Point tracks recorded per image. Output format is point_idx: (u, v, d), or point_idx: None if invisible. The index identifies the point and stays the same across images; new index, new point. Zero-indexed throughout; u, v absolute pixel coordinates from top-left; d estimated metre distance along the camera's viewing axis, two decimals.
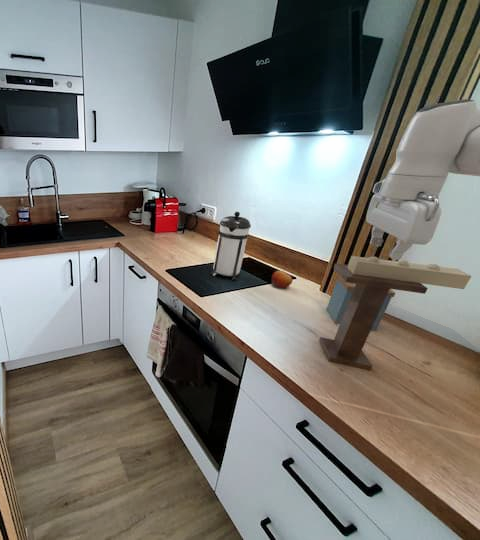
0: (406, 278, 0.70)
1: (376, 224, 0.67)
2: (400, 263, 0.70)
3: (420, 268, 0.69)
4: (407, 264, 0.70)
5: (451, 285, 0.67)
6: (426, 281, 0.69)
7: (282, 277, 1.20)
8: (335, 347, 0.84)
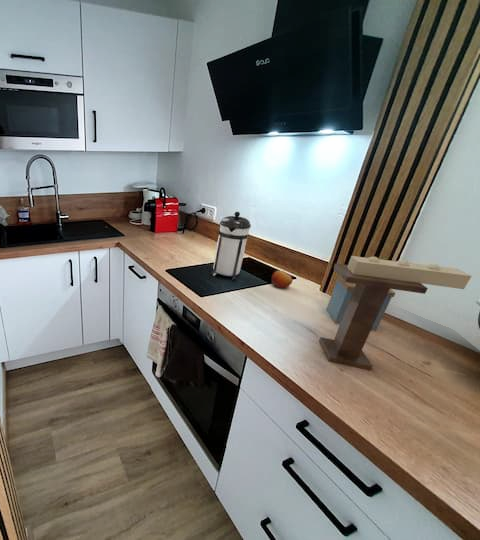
0: (406, 278, 0.70)
1: None
2: (400, 263, 0.70)
3: (420, 268, 0.69)
4: (407, 264, 0.70)
5: (451, 285, 0.67)
6: (426, 281, 0.69)
7: (282, 277, 1.20)
8: (335, 347, 0.84)
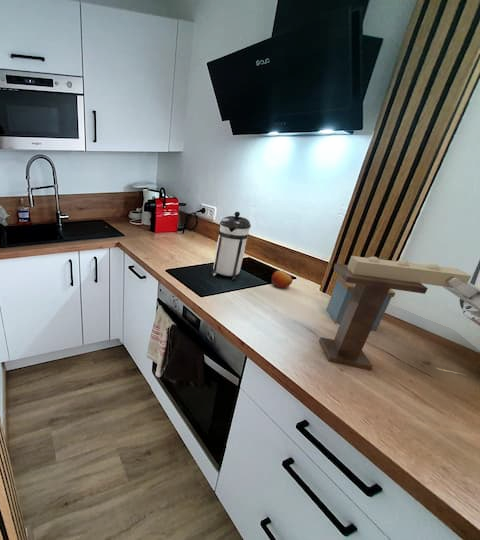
0: (406, 278, 0.70)
1: (463, 299, 0.66)
2: (400, 263, 0.70)
3: (420, 268, 0.69)
4: (407, 264, 0.70)
5: None
6: (426, 281, 0.69)
7: (282, 277, 1.20)
8: (335, 347, 0.84)
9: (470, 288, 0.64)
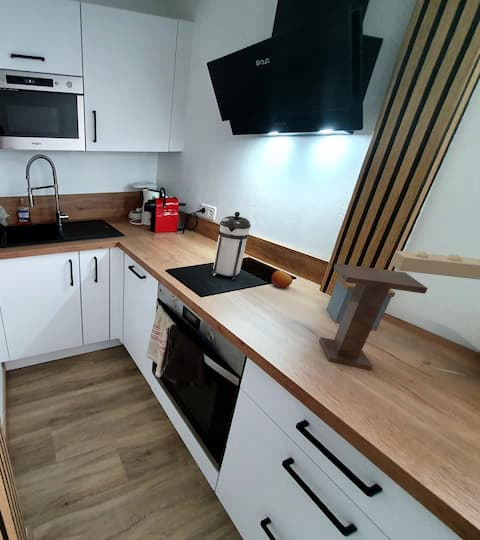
0: (458, 274, 0.66)
1: None
2: (451, 258, 0.66)
3: (474, 263, 0.64)
4: (459, 259, 0.65)
5: None
6: None
7: (282, 277, 1.20)
8: (335, 347, 0.84)
9: None
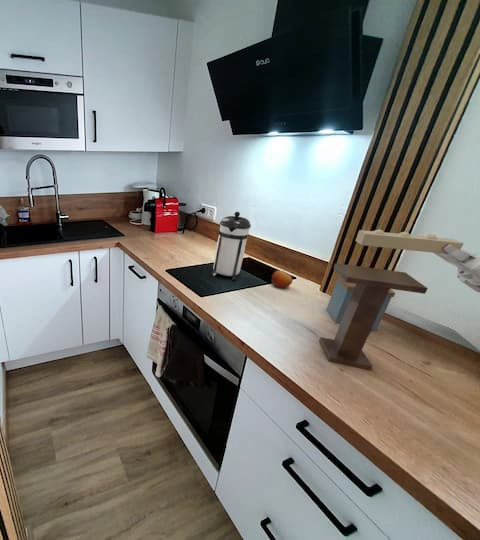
0: (407, 247, 0.80)
1: (457, 263, 0.77)
2: (402, 234, 0.81)
3: (419, 238, 0.79)
4: (408, 235, 0.80)
5: (446, 252, 0.78)
6: (425, 249, 0.79)
7: (282, 277, 1.20)
8: (335, 347, 0.84)
9: (463, 253, 0.75)
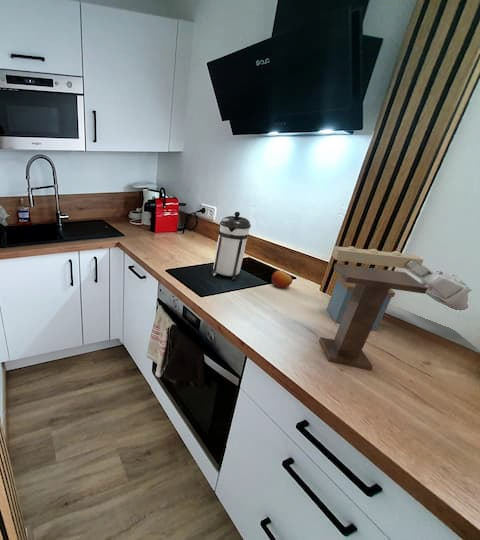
0: (376, 262, 0.91)
1: (418, 277, 0.88)
2: (371, 251, 0.92)
3: (386, 254, 0.90)
4: (376, 251, 0.91)
5: (409, 267, 0.89)
6: (391, 264, 0.90)
7: (282, 277, 1.20)
8: (335, 347, 0.84)
9: (422, 268, 0.86)
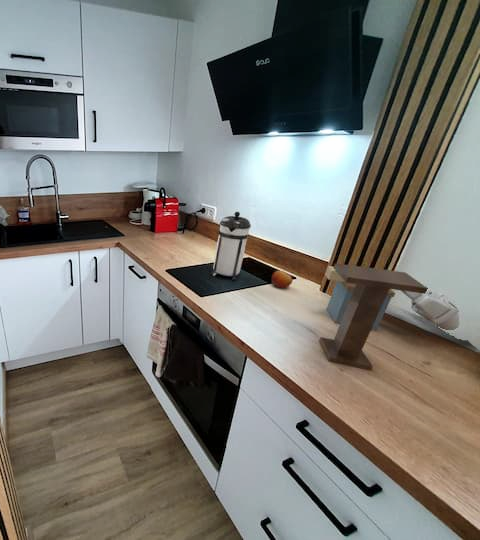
0: None
1: None
2: None
3: None
4: None
5: None
6: None
7: (282, 277, 1.20)
8: (335, 347, 0.84)
9: None
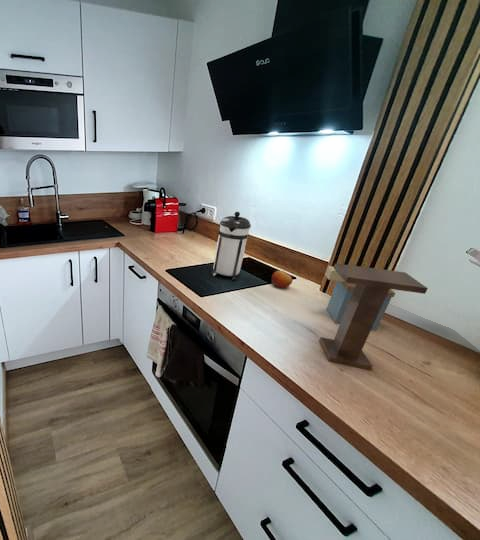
0: None
1: (476, 264, 0.82)
2: None
3: None
4: None
5: None
6: None
7: (282, 277, 1.20)
8: (335, 347, 0.84)
9: None
